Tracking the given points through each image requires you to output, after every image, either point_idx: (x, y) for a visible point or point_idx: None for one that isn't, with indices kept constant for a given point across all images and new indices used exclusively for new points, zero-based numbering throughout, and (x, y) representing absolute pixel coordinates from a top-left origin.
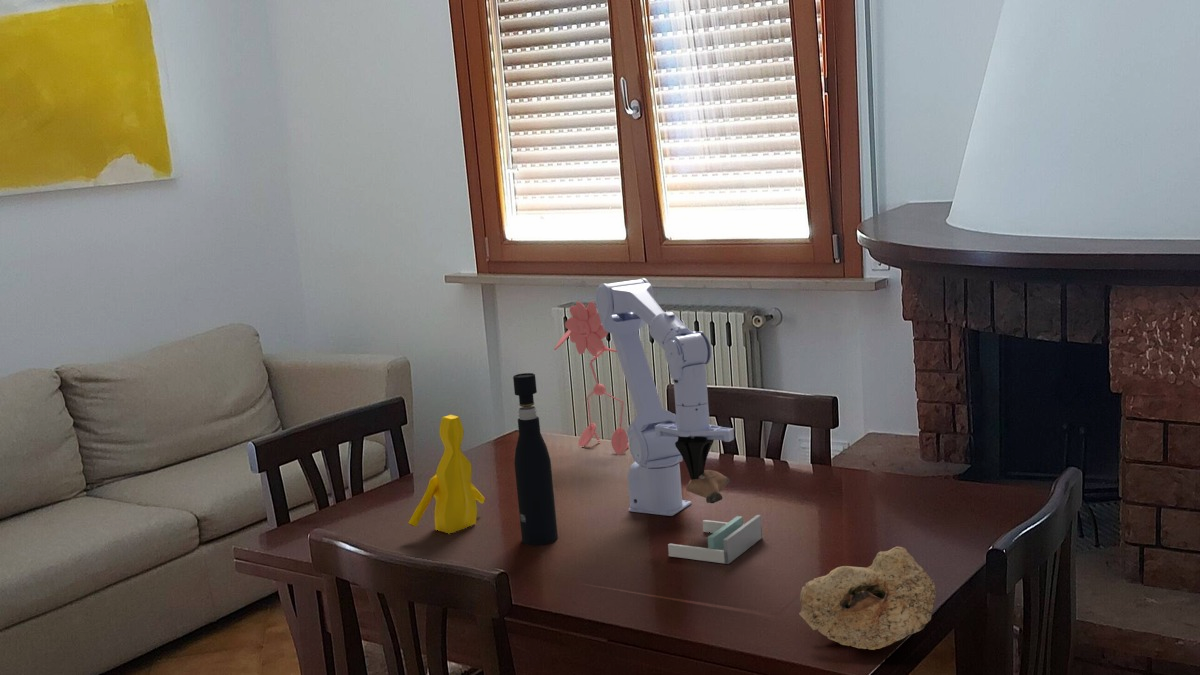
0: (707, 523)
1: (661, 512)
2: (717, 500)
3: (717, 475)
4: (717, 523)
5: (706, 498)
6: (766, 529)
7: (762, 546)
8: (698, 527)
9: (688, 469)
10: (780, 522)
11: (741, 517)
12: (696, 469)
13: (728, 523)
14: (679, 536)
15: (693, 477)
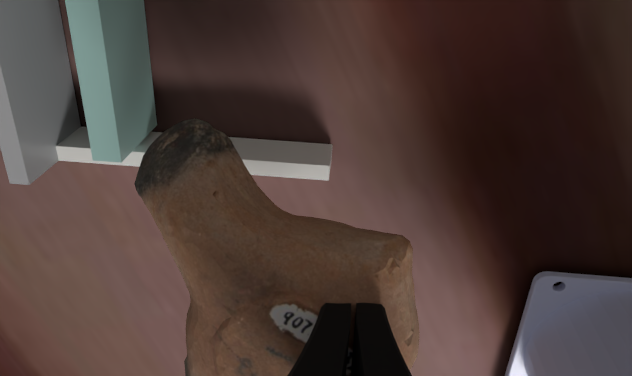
0: (305, 160)
1: (592, 284)
2: (151, 145)
3: (212, 366)
4: (252, 158)
5: (227, 153)
6: (113, 229)
7: None
8: (381, 196)
9: (392, 349)
10: (108, 299)
11: (92, 149)
12: (316, 348)
13: (95, 43)
14: (422, 73)
15: (357, 309)
